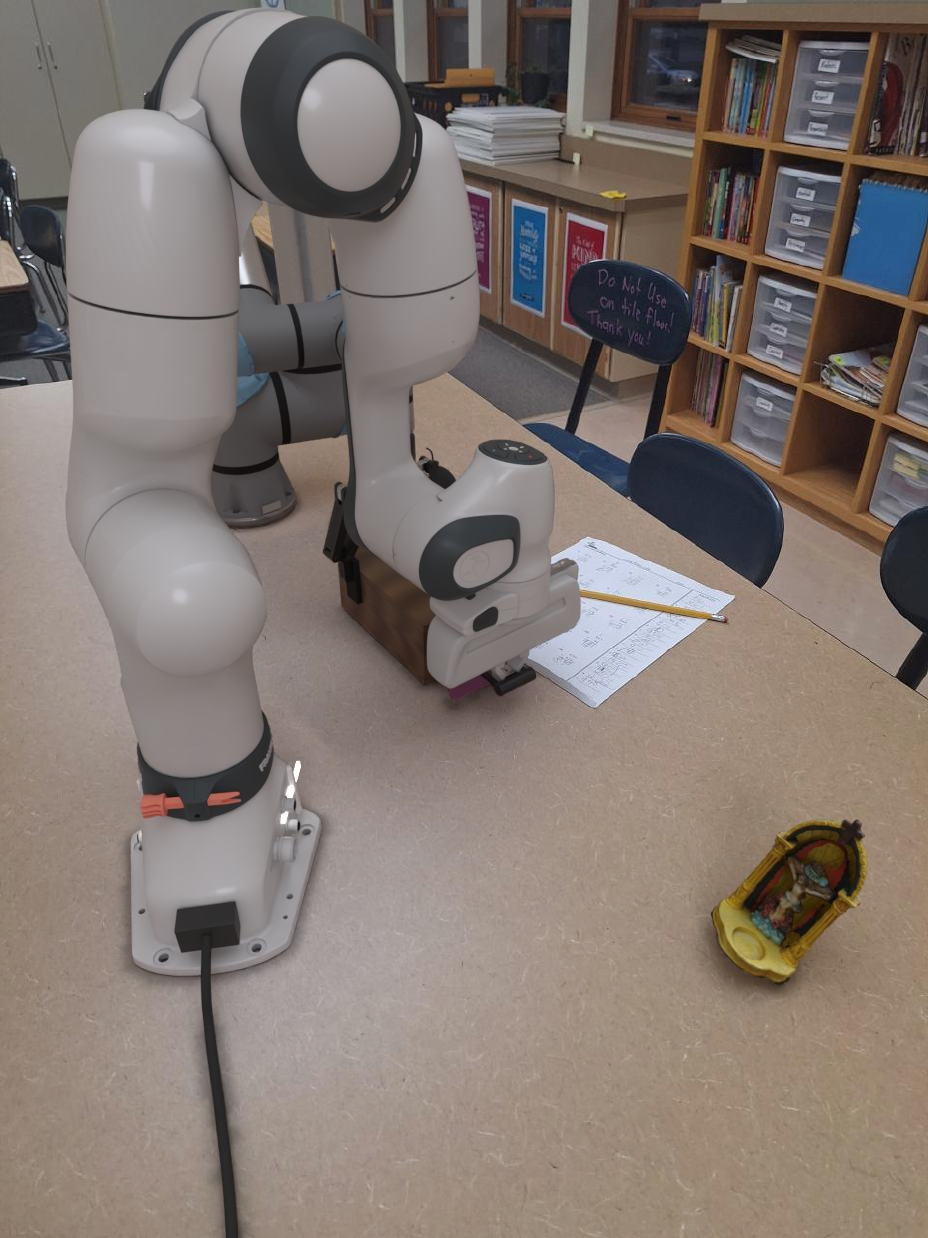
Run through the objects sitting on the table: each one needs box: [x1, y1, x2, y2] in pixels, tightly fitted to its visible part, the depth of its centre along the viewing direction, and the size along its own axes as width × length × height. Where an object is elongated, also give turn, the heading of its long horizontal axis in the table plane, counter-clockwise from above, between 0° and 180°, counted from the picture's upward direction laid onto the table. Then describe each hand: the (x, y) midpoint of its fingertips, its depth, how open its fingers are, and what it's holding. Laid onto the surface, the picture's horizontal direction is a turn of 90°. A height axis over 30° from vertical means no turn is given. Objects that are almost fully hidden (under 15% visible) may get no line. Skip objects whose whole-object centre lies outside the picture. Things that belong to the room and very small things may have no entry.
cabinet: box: [337, 547, 437, 686], centre depth 113 cm, size 20×11×9 cm, turn 37°
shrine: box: [710, 818, 868, 986], centre depth 72 cm, size 12×8×15 cm
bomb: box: [425, 447, 457, 489], centre depth 140 cm, size 8×8×12 cm
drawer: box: [448, 661, 538, 701], centre depth 107 cm, size 25×10×7 cm, turn 37°
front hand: (505, 681), depth 101 cm, fingers closed, pressing on drawer
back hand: (393, 584), depth 117 cm, fingers closed on cabinet, 11 cm apart
